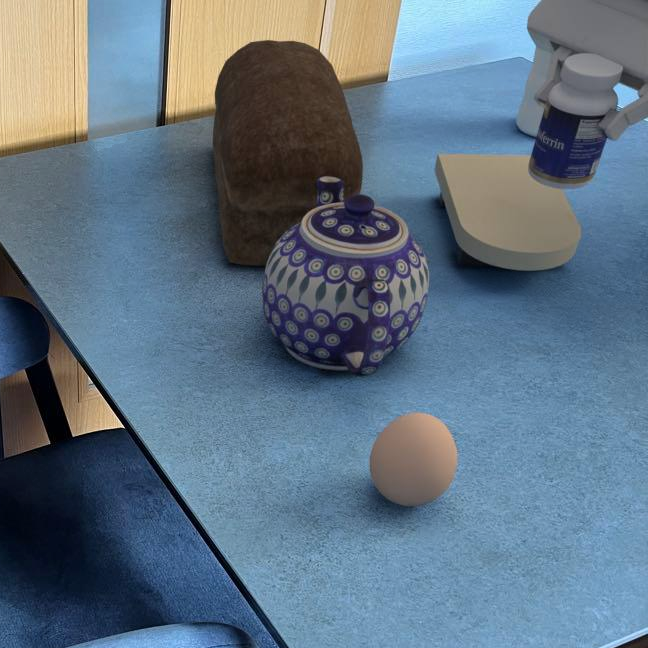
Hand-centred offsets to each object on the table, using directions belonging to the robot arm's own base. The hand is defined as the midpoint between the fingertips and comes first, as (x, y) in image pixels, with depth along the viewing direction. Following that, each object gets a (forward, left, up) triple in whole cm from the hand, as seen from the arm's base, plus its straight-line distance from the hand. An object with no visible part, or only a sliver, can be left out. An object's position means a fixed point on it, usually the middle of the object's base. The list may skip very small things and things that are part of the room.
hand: (572, 119), depth 89 cm
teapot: (+18, +6, -19) cm, 27 cm away
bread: (+23, -22, -19) cm, 37 cm away
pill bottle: (0, 0, -6) cm, 6 cm away
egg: (+14, +28, -19) cm, 37 cm away
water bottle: (-12, -44, -19) cm, 49 cm away
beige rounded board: (-1, -15, -19) cm, 24 cm away
